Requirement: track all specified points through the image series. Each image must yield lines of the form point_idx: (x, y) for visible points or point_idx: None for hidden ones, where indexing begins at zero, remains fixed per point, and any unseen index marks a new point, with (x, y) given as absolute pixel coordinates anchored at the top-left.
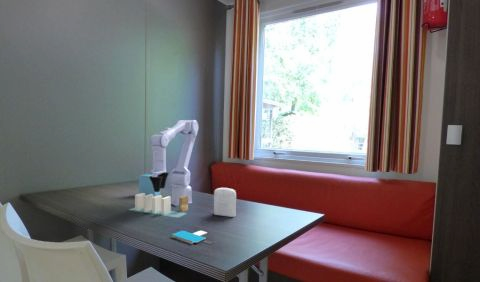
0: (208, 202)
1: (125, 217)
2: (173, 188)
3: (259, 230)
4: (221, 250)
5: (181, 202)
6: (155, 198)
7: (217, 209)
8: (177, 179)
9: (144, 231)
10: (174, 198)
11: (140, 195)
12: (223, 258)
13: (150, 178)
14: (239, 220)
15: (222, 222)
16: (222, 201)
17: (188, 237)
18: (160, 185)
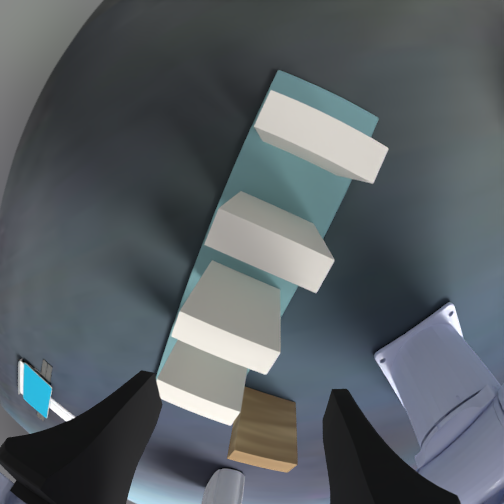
0: (401, 442)
1: (129, 121)
2: (450, 402)
3: (131, 488)
4: (30, 420)
5: (232, 436)
6: (180, 335)
7: (210, 487)
8: (453, 477)
9: (17, 284)
10: (415, 364)
11: (301, 146)
12: (16, 414)
13: (7, 446)
14: (183, 489)
15: (156, 467)
16: None
17: (31, 391)
18: (336, 419)
